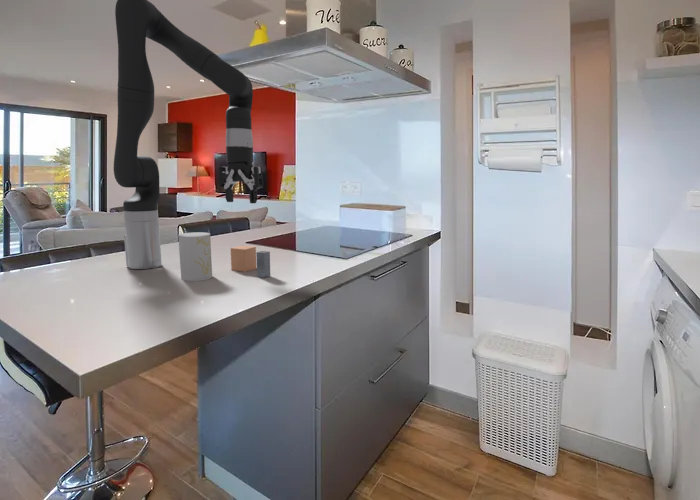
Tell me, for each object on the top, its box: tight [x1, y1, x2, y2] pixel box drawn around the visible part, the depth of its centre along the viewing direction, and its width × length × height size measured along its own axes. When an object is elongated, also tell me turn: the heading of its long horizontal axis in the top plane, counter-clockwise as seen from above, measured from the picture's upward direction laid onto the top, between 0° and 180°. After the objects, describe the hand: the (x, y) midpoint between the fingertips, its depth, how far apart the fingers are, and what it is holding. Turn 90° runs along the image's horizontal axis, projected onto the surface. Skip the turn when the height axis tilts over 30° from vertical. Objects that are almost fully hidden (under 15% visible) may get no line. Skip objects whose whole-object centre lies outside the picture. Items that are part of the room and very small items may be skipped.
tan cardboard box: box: [230, 245, 257, 272], centre depth 127 cm, size 5×5×7 cm
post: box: [256, 250, 271, 279], centre depth 118 cm, size 3×3×7 cm
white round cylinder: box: [177, 231, 213, 282], centre depth 116 cm, size 8×8×12 cm
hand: (241, 202), depth 124 cm, fingers open, 8 cm apart
